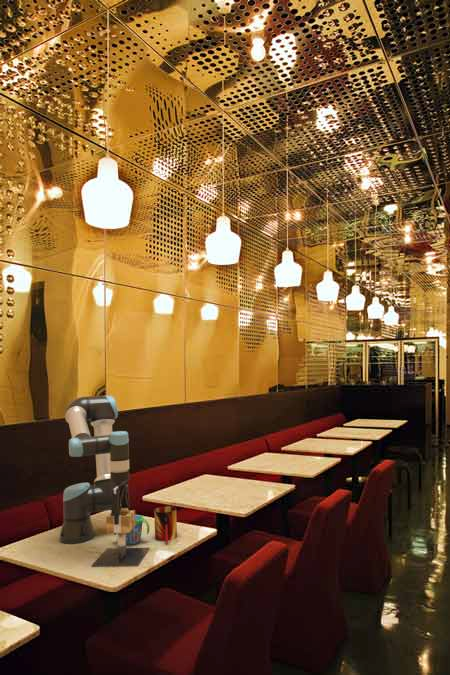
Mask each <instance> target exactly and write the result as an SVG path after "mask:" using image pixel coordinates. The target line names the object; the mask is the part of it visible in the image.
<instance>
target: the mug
mask: <svg viewBox="0 0 450 675" xmlns="http://www.w3.org/2000/svg"><path fill="white" fill-rule="evenodd" d="M153 514H154V517H153V518H154V540H156V541H159V542H165V543H168V542H169V541H170V542H171V541H173V540H175V539H178V528H177V527H178V525H177V524H178V522H177V508H176V507H175V506H161V507H157V508H155V509H154V513H153Z"/></svg>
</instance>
